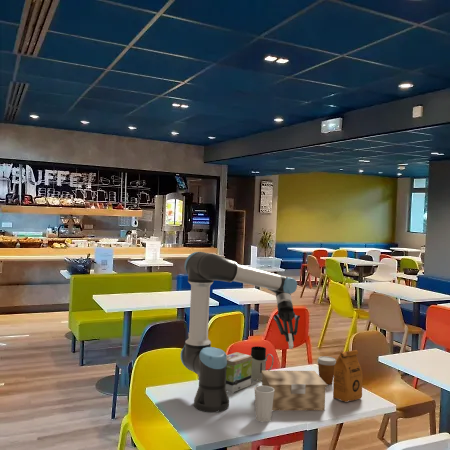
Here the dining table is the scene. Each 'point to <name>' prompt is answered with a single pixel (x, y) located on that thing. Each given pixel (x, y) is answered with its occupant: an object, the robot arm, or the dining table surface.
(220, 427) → the dining table surface
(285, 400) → the wooden box
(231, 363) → the tea box
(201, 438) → the dining table surface
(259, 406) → the cup
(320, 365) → the disposable coffee cup
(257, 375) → the glass holder
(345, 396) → the coffee package
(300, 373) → the box lid
